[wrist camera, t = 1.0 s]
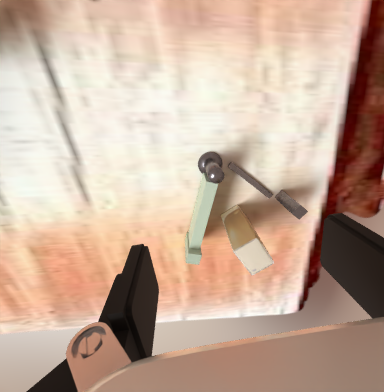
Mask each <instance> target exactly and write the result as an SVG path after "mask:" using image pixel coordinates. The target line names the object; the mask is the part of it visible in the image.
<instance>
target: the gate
mask: <svg viewBox="0 0 384 392" xmlns="http://www.w3.org/2000/svg"><path fill="white" fill-rule="evenodd" d="M217 187H218V183H217V184H215V183H212V182H211V181H210V180H209V178H208V175H207V173H203V176H202V180H201V184H200V188H199V192H198V196H197V200H196V204H195V208H194V212H193V216H192V220H191V224H190V228H189V232H187V234H186V238H185V256H186V263H190V264H198V265H199V263H200V259H201V256H202V254H201V243H202V240H203V236H204V233H205V229H206V226H207V222H208V218H209V215H210V211H211V208H212V204H213V201H214V197H215V194H216V190H217Z"/></svg>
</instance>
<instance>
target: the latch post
mask: <svg viewBox="0 0 384 392" xmlns="http://www.w3.org/2000/svg"><path fill="white" fill-rule="evenodd" d="M228 167H229V168H231V169H232V170H233V171H235V172H236V173H237V174H238V175H240V176H241V177H242V178H244V179H245V180H246V181H247V182H249V183H250V184H251V185H253V186H254V187H255V188H256V189H258V190H259V191H260V192H262V193H263V194H264V195H265V196H267V197H268V198H270V197H271V196H272V195H273V194H271V193H270V192H269V191H268V190H266V189H265V188H264V187H263V186H261V185H260V184H259V183H257V182H256V181H255V180H254V179H252V178H251V177H250V176H249V175H247V174H246V173H245V172H244V171H242V170H241V169H240V168H239V167H237V166H236V165H235V164H233V163H232V162H231V163H230V164H229V165H228ZM275 198H276V199H277V200H278V201H279V202H280V203H281V204H282V205H283V206H284V207H285V208H286V209H287V210H288V211H289V212H291V213H292V214H293V215H294V216H295V217H297V218H298V219H300V218H301V217H302V216H304V215H305V214H306V213H307V212H308V211H307V210H306V209H305V208H303V207H302V206H301V205H300V204H299V203H297V202H296V201H295V200H294V199H292V198H291V197H290V196H289V195H287V194H286V193H285V192H284V191H282V190H281V191H280V192H279V193H278V194H277V195H276V196H275Z"/></svg>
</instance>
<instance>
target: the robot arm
mask: <svg viewBox="0 0 384 392" xmlns="http://www.w3.org/2000/svg"><path fill="white" fill-rule="evenodd" d="M320 261H321V265H322V266H323V267H324V269H326V271H327V272H328V273H329V274H330V275H331V276H332V277H333V278H334V279H335V280H336V281H337V282H338V283H339V284H340V285H341V286H342V287H343V288H344V289H345V290H346V291H347V292H348V293H349V294H350V295H351V296H352V297H353V299H354V300H355V301H356V302H357V303H358V304H359V305H360V306H361V307H362V308H363V309H364V310H365V311H366V312H367V313H368V314H369V315H370V316H371V317H372V318H373V319H366V320H360V321H353V322H347V323H340V324H334V325H328V326H322V327H316V328H309V329H303V330H297V331H291V332H285V333H278V334H272V335H265V336H260V337H253V338H247V339H241V340H235V341H230V342H223V343H217V344H211V345H205V346H200V347H195V348H189V349H184V350H178V351H173V352H168V353H164V354H160V355H155V356H152V348H153V339H154V330H155V321H156V312H157V304H158V295H159V288H158V283H157V279H156V275H155V271H154V268H153V264H152V260H151V256H150V252H149V249H148V246H144V244H140V245H133V246H132V247H131V249H130V252H129V255H128V258H127V260H126V263H125V266H124V269H123V271H122V274H118V275H117V276H116V278H115V280H114V283H113V285H112V288H111V290H110V293H109V295H108V298H107V300H106V303H105V306H104V308H103V311H102V313H101V316H100V318H99V321H98V322H95V323H92V324H90V325H88V326H86V327H84V328H83V329H81V330H80V331H79V332H78V333H77V334H76V335H75V336H74V337H73V339H72V340H71V342H70V343H69V346H68V348H67V352H66V356H67V358H66V359H65V360H64V361H63V362H62V363H61V364H59V365H58V366H57V367H56V368H54V369H53V370H52V371H51V372H50V373H48V374H47V375H46V376H45V377H44V378H42V379H41V380H40V381H39V382H38V383H36V384H35V385H34V386H33V387H32V388H30V389H29V390H28V391H27V392H384V238H383V237H382V236H380V235H378V234H377V233H375V232H373V231H371V230H370V229H368V228H366V227H365V226H363V225H361V224H360V223H358V222H356V221H354V220H353V219H351V218H349V217H348V216H346V215H344V214H342V213H338V214H332V215H328V217H327V218H326V219H325V221H324V230H323V239H322V248H321V258H320Z"/></svg>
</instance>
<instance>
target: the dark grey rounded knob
mask: <svg viewBox="0 0 384 392" xmlns="http://www.w3.org/2000/svg"><path fill="white" fill-rule="evenodd" d="M198 167H199V170H200V171H201V173H207V175H208V178H209V180H210V181H211V182H212V183H215V184H217V183H220V182H221V181H222V180H223V179H224V173H223V171H222V169H221V167H222V160H221V158H220V157H219V155H218V154H216V153H214V152H207V153H205V154H203V155H202V156H201V157H200V159H199V161H198Z"/></svg>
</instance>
